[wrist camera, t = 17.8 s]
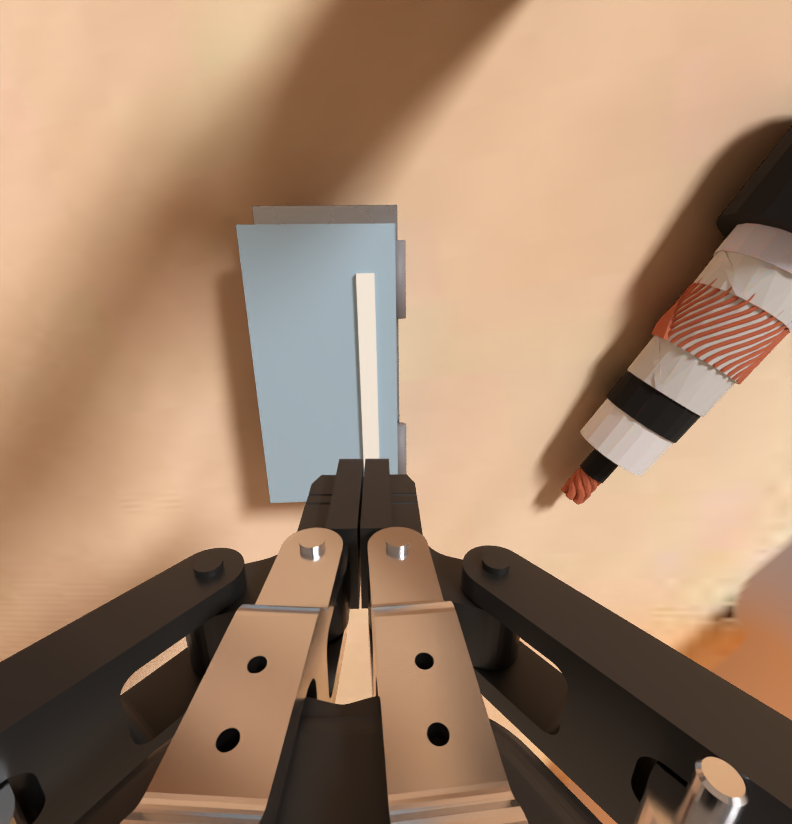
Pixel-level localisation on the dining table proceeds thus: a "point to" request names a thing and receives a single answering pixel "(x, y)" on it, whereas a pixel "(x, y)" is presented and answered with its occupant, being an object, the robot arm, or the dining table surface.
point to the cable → (703, 333)
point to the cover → (324, 347)
